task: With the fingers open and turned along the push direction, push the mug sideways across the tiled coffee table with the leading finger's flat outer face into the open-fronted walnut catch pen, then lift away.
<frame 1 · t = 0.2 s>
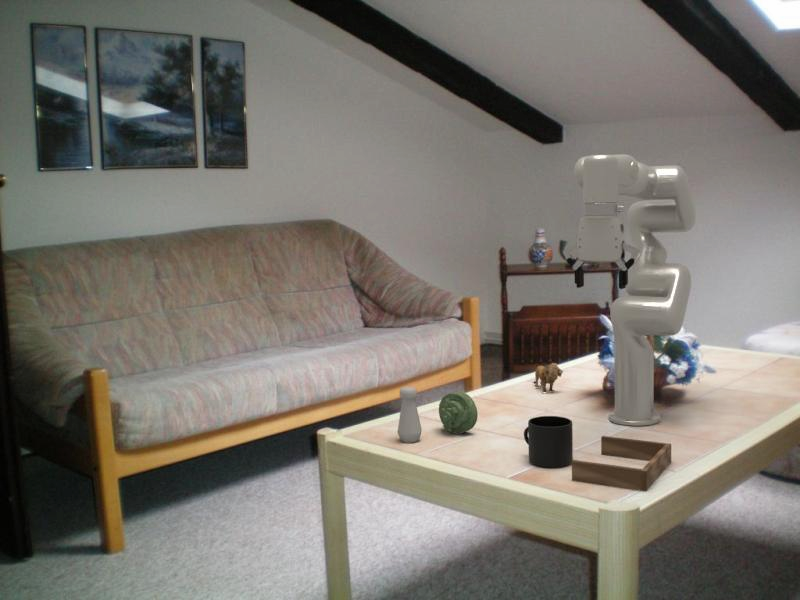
hand: (600, 287, 195), 36 cm above the table, tool pointing down, fingers open, 9 cm apart
mug: (545, 461, 190), on the table
salt shaker: (410, 441, 209), on the table
lion figurine: (546, 391, 255), on the table
decorative artifact: (453, 435, 213), on the table
catch pen: (620, 470, 181), on the table
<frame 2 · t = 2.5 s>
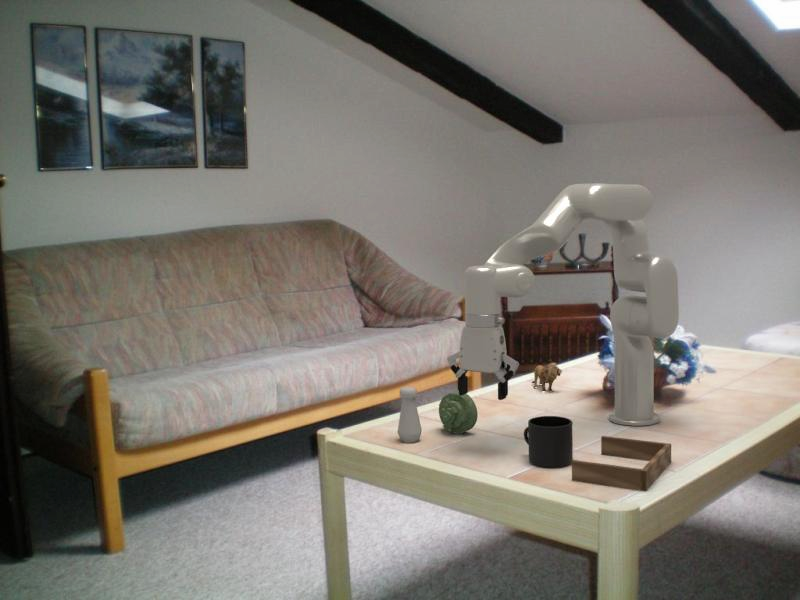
hand: (482, 396, 195), 13 cm above the table, tool pointing down, fingers open, 9 cm apart
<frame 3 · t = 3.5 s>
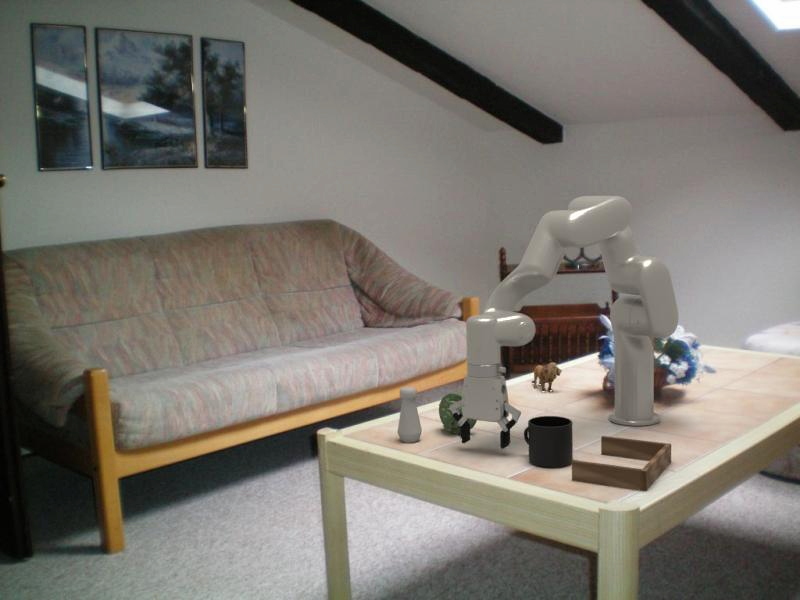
hand: (485, 444, 197), 2 cm above the table, tool pointing down, fingers open, 9 cm apart
nothing on the table moved.
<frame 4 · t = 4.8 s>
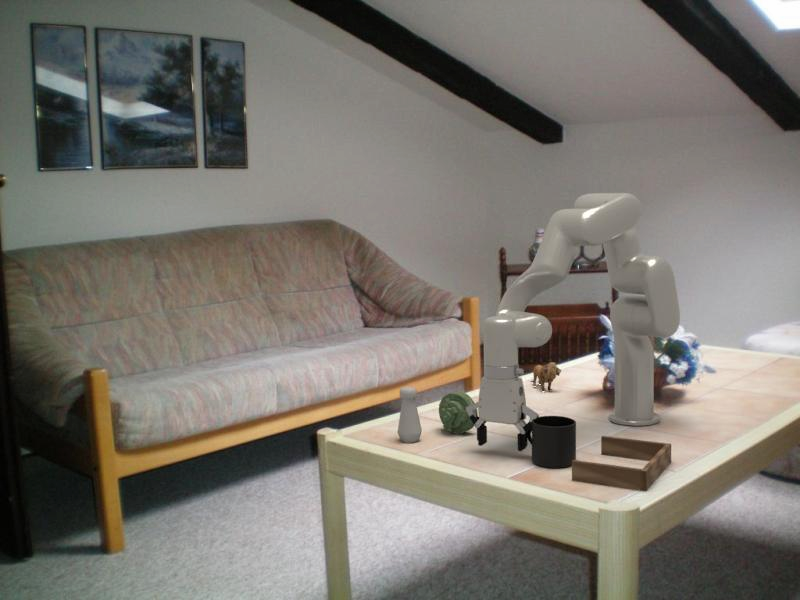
hand: (502, 446, 195), 2 cm above the table, tool pointing down, fingers open, 9 cm apart
mug: (549, 461, 189), on the table, touching gripper
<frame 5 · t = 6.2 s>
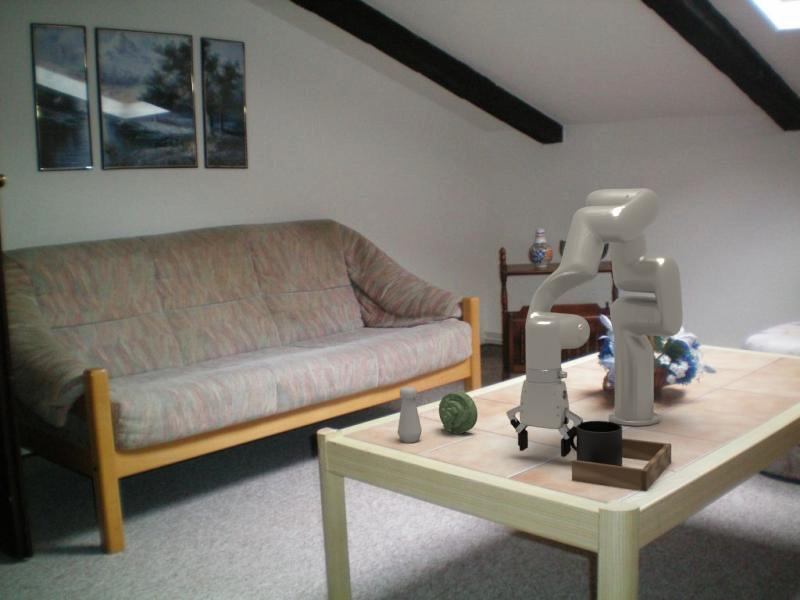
hand: (544, 452, 189), 2 cm above the table, tool pointing down, fingers open, 9 cm apart
mug: (594, 467, 184), on the table, touching gripper
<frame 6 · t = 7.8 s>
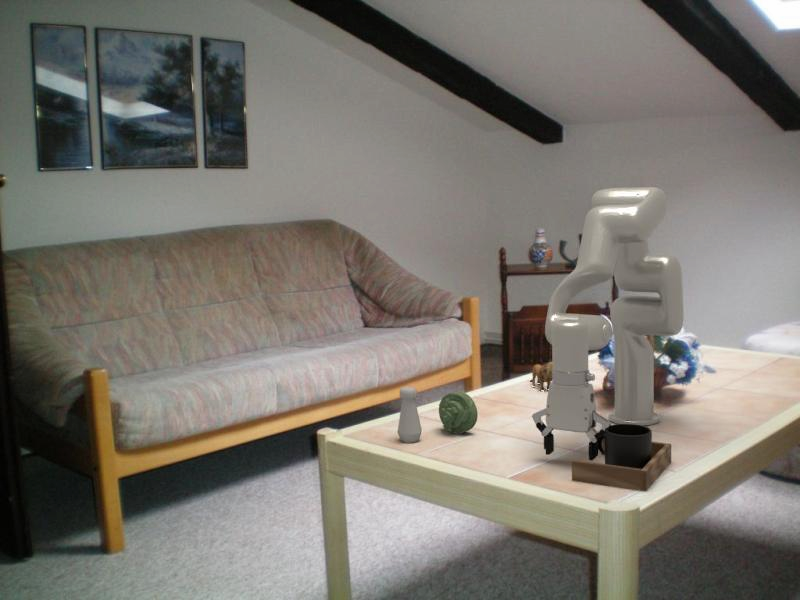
hand: (570, 456, 186), 2 cm above the table, tool pointing down, fingers open, 9 cm apart
mug: (622, 471, 181), on the table, touching gripper
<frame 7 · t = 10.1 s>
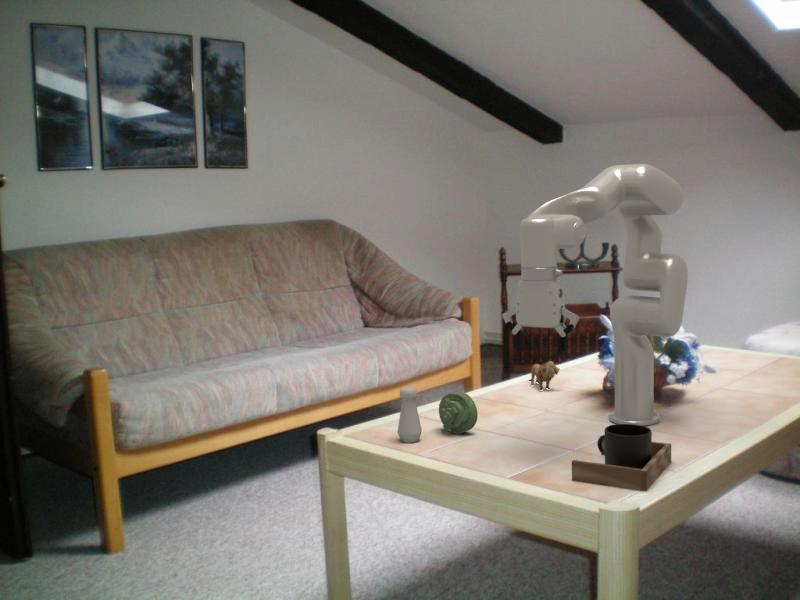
hand: (540, 352, 189), 23 cm above the table, tool pointing down, fingers open, 9 cm apart
mug: (622, 471, 181), on the table
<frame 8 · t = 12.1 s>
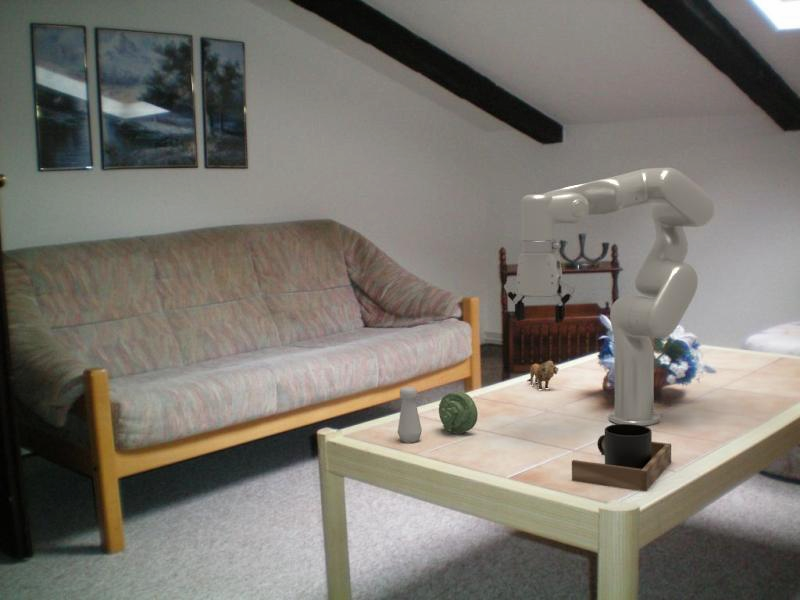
hand: (539, 321, 203), 28 cm above the table, tool pointing down, fingers open, 9 cm apart
at the end: mug inside the target area on the catch pen (0.3 cm from its centre), point 0.0 cm above the catch pen's base; mug tilted 0°; the gripper is holding nothing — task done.
